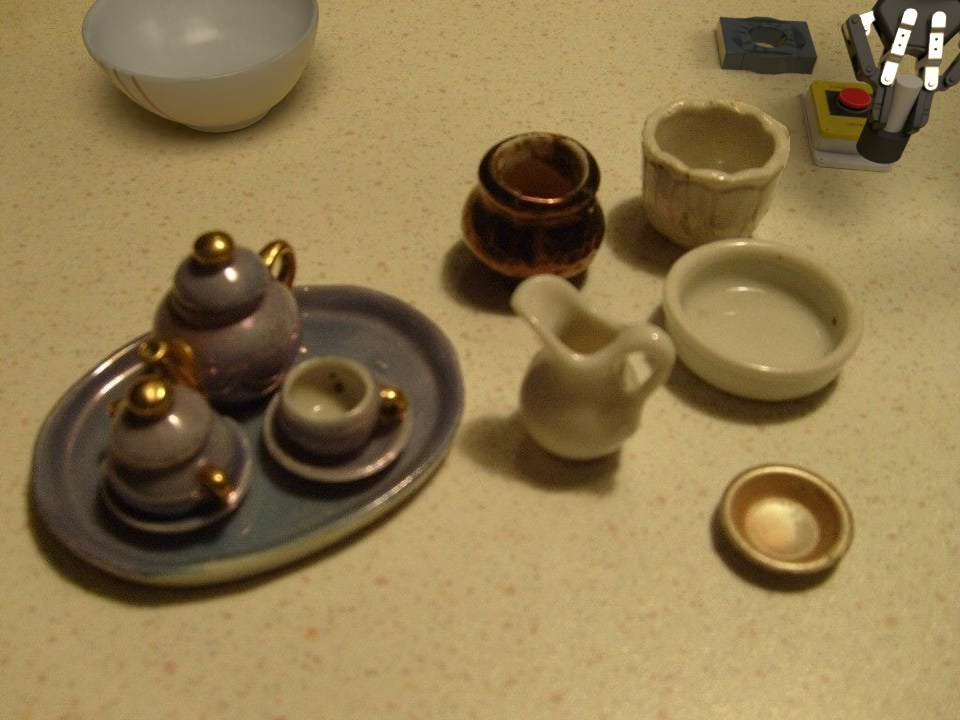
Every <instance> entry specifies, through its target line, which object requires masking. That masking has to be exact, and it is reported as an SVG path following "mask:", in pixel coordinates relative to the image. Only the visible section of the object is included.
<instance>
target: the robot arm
mask: <svg viewBox="0 0 960 720" xmlns="http://www.w3.org/2000/svg"><path fill="white" fill-rule="evenodd" d="M871 26H872V27H873V28H874V30H875V32H876V34H877V36H878V38H879V41H880V42H881V44H882V46H883V48H882V51H881V54H880V57H879V60H878V66H877V67H876V63H875V60H874V57H873V53H872V49H871V47H870V43H869V40H868V36H869V35H870V34H871V32H872V31H871V30H872V29H871ZM840 31H841V35H842V38H843V40H844V45H845V47H846V51H847V54H848V58H849V61H850V64H851V68H852V72H853V74H854V77H855V79H856V81H857V82H859V83H864V84H869V85H870V86H871V87H872V89H873V93H872V99H871V104H870V109H869V114H868V120H869V123H873V130H882V129H884V128H885V127H886V125H887V122H888V117H889V112H890V107H891V102H892V97H893V92H894V87H893V84H894V82H895V80H896V77H897V73H898V69H899V66H900V65H901V64H900V63H901V62H902V60H903V58H904V56H907V55H908V56H911V57H913V58H915V62H914V71H915V76H917V77H919V78H920V79H921V80H922V81H923V85H922V88H921V90H920V92H919V94H918V96H917V98H916V100H915V103H914V105H913V107H912V109H911V111H910V113H909V116H908V118H907V121H906V126H905V134H912V135H914V134H917V133H919V131H920V130H921V129H923V128H924V127H926V125H928V123H929V119H930V114H931V109H932V104H933V99H934V95H935V93H937V92H940V93H941V92H945V91H947V90H949V89H950V88H952V87H955V86H956V85H958V83H959V82H960V51H959V52H958V54H957V55H956V56H955V57H954V59H953V60H952V61H951V63H950V64H949V65H948V67H947V68H945V70H944V72H943V73H942V74H941V75H940V66H941V64H942V60H943V51H944V47H945V46H946V45H947V44H949V42H950V41H951V40H953V38H954V37H955V36H956V35H957V34H959V35H960V0H877V1H876V2H875V4H874V5H873V6H872V7H871V9H870V11H868V12H865V13H862V14H857V13H853V14H851V15H850V16H848V18H846V20H845V21H844V22H843V23H842V24H841V26H840ZM957 47H958V49H959V50H960V39H959V40H958V42H957Z"/></svg>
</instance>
